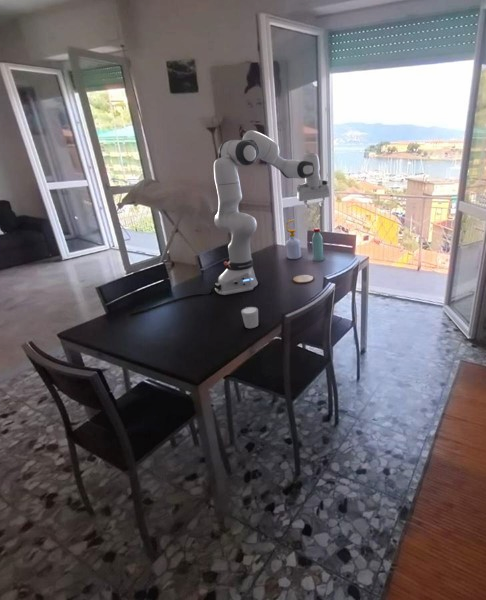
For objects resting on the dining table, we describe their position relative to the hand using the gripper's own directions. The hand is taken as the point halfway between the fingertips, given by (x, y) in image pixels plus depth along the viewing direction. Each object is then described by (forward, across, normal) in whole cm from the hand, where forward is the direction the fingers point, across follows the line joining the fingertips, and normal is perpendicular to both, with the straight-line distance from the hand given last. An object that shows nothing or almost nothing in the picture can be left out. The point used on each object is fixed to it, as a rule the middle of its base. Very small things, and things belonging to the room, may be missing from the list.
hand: (314, 206), depth 211 cm
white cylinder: (+32, -64, -60) cm, 94 cm away
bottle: (+33, 0, +1) cm, 33 cm away
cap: (+14, +1, +1) cm, 14 cm away
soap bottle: (+34, -10, +14) cm, 38 cm away
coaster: (+33, -23, -26) cm, 48 cm away
